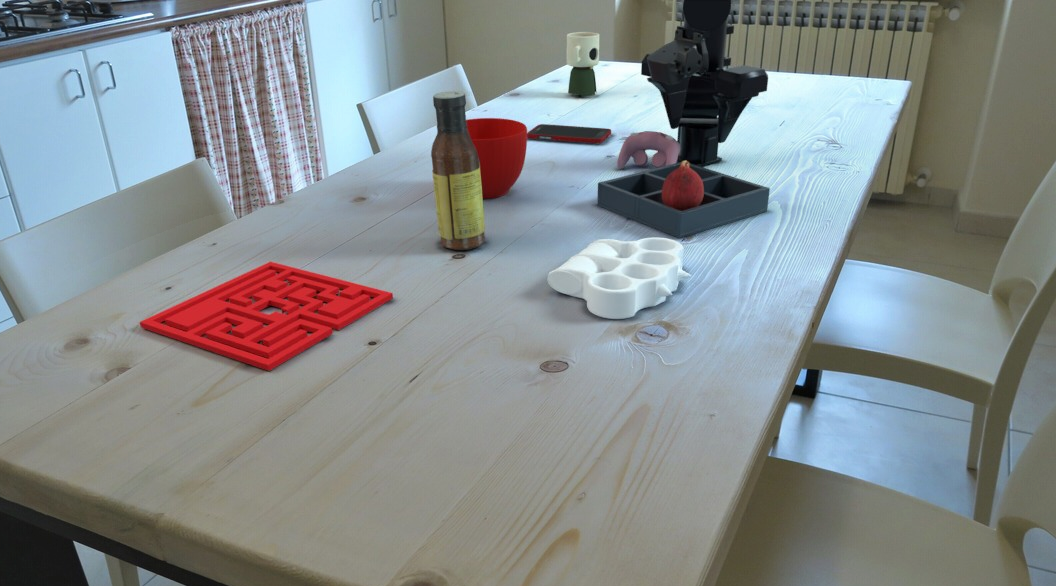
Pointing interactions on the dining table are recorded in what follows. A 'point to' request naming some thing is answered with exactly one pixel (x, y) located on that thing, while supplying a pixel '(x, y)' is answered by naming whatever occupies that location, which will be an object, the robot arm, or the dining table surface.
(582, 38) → the character mug
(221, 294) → the maze puzzle
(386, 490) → the dining table surface
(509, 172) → the ceramic cup
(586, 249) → the white brass knuckles
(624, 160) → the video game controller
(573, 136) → the cell phone
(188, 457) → the dining table surface
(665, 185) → the onion
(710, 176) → the grid
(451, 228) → the sauce bottle
